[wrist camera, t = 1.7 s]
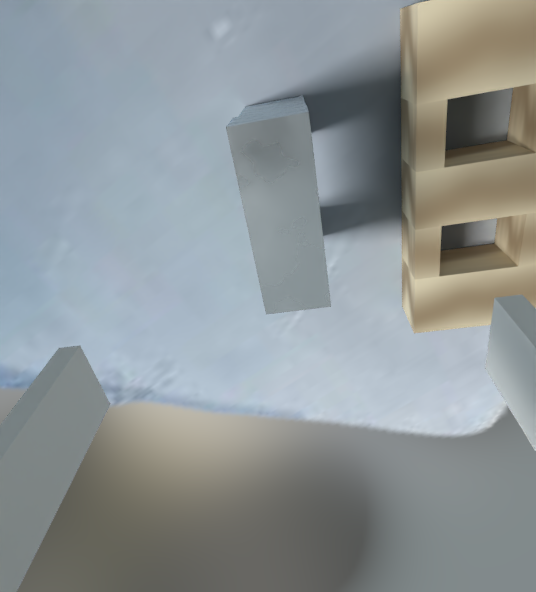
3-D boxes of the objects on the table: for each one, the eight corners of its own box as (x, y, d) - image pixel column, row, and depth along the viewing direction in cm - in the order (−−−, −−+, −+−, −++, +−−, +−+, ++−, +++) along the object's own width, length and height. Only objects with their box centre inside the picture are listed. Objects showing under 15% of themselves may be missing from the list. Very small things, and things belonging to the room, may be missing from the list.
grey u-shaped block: (244, 102, 28) (226, 126, 20) (302, 91, 28) (308, 111, 19) (271, 246, 34) (266, 314, 25) (320, 239, 33) (330, 306, 25)
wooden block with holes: (400, 8, 25) (418, 2, 22) (557, -25, 24) (602, -37, 20) (402, 306, 36) (414, 333, 33) (509, 293, 35) (533, 319, 32)
